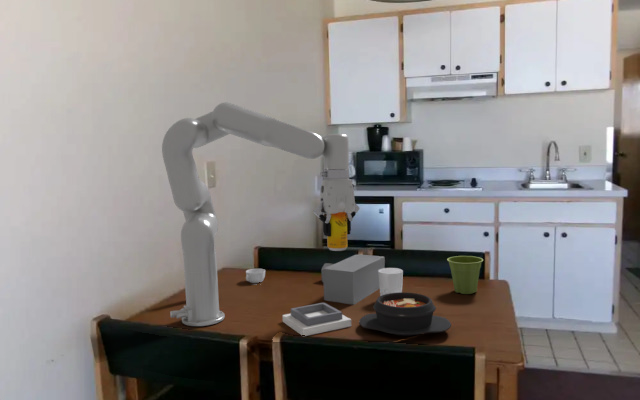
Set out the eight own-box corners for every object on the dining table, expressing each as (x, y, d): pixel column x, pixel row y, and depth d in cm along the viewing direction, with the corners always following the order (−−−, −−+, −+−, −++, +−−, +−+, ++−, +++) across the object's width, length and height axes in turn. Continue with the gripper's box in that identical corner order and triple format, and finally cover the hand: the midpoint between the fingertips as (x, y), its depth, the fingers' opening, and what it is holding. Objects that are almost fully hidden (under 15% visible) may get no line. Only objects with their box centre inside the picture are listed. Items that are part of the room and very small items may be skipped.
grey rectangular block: (328, 279, 199) (328, 251, 198) (384, 286, 187) (384, 256, 186) (293, 296, 178) (292, 265, 177) (353, 305, 166) (353, 271, 165)
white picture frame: (303, 336, 139) (302, 322, 139) (282, 321, 151) (282, 308, 151) (351, 326, 146) (351, 312, 145) (327, 312, 158) (327, 300, 158)
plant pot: (469, 285, 184) (469, 254, 183) (490, 294, 173) (490, 260, 172) (440, 289, 181) (440, 257, 179) (460, 298, 169) (459, 264, 168)
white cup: (374, 301, 169) (373, 271, 168) (387, 295, 174) (387, 266, 173) (394, 305, 163) (394, 274, 162) (407, 299, 169) (407, 269, 168)
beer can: (346, 251, 154) (345, 201, 152) (325, 251, 155) (325, 201, 153) (348, 247, 160) (348, 199, 158) (329, 247, 161) (328, 199, 159)
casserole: (353, 338, 136) (353, 307, 136) (364, 316, 154) (363, 288, 154) (451, 344, 131) (451, 312, 130) (450, 320, 149) (450, 291, 148)
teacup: (255, 278, 205) (254, 266, 204) (274, 281, 199) (274, 269, 198) (237, 284, 196) (236, 272, 196) (256, 287, 191) (256, 275, 190)
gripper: (316, 177, 148) (317, 239, 149) (367, 174, 156) (367, 233, 157) (304, 176, 154) (306, 235, 156) (354, 173, 162) (354, 230, 164)
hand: (337, 234), depth 157 cm, fingers closed on beer can, 6 cm apart
